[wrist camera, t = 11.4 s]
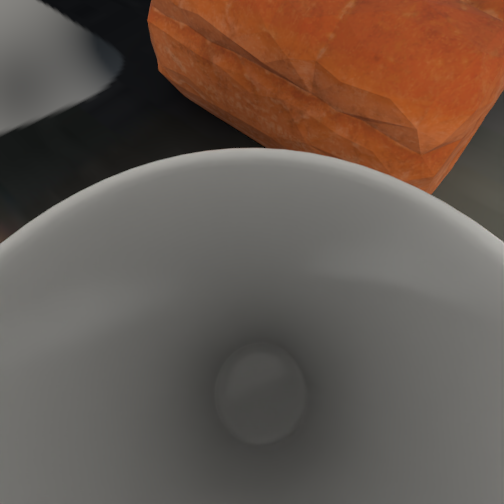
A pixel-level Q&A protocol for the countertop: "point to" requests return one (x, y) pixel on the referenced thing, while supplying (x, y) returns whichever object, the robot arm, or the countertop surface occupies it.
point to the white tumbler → (252, 340)
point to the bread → (341, 74)
